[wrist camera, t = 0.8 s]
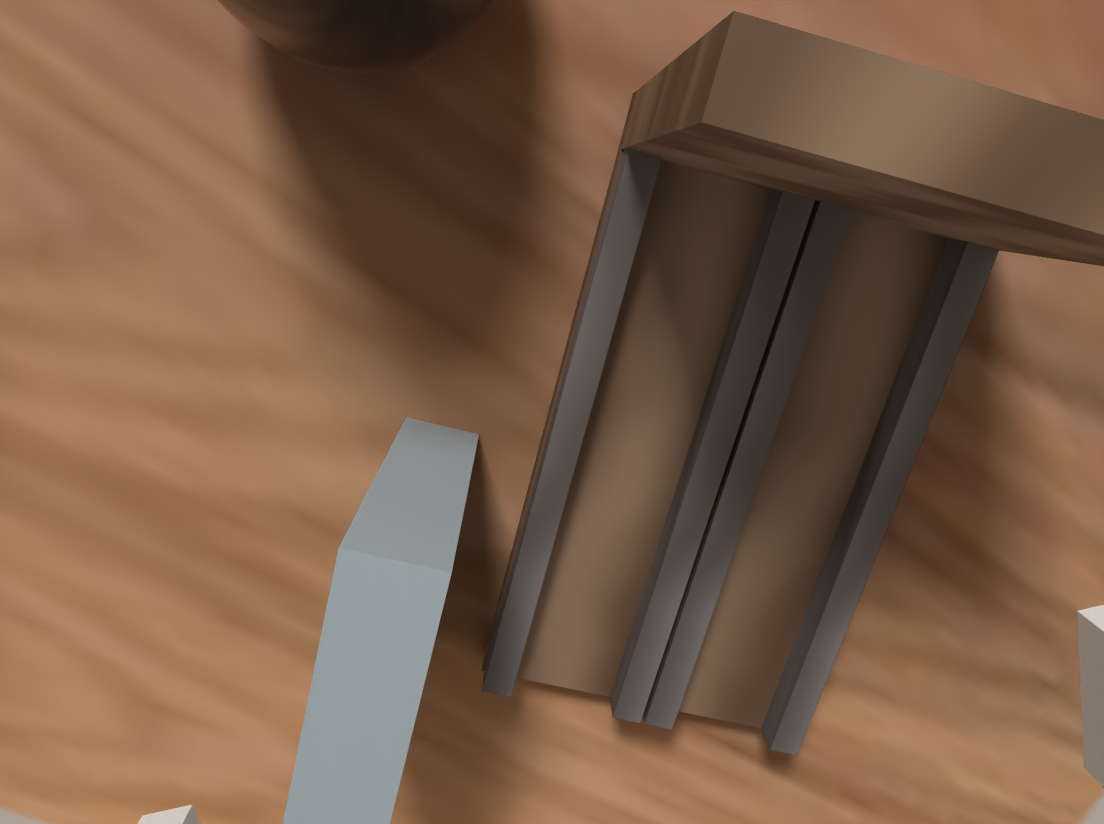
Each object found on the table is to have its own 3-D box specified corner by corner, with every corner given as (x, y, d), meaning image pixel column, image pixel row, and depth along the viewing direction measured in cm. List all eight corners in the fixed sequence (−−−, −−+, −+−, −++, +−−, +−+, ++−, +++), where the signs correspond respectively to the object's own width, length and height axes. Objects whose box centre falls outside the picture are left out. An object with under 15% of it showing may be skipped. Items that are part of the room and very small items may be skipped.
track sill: (483, 657, 36) (451, 982, 21) (633, 93, 29) (734, 11, 15) (781, 719, 37) (943, 1065, 22) (986, 193, 31) (1393, 205, 16)
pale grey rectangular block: (359, 630, 35) (277, 851, 24) (406, 417, 32) (338, 547, 21) (427, 645, 35) (378, 869, 24) (479, 434, 33) (451, 572, 21)
